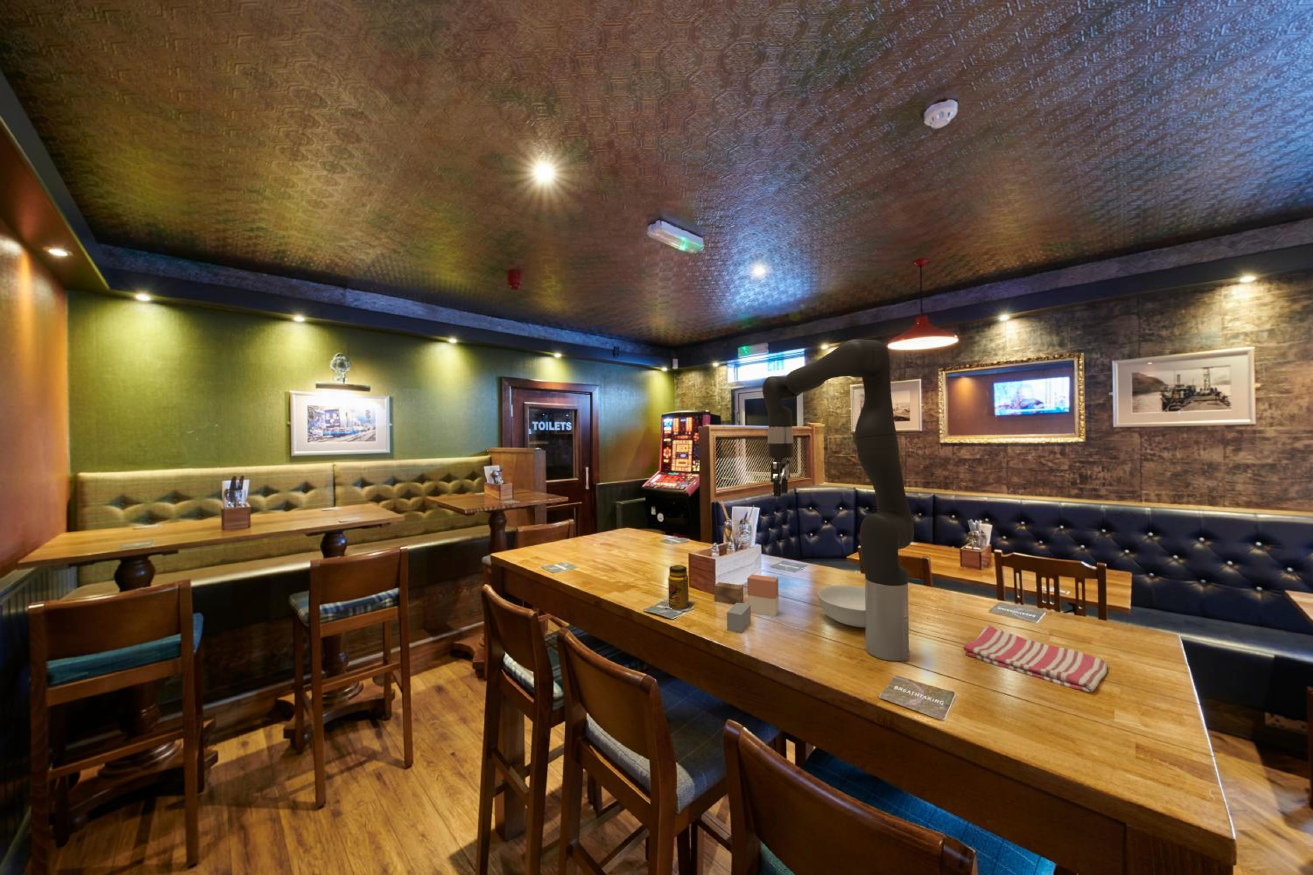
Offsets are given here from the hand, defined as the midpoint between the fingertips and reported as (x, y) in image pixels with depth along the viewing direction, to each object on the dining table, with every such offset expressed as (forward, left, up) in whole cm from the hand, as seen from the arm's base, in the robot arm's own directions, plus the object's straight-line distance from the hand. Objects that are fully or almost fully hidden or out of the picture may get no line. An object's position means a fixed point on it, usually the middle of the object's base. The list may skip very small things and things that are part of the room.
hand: (780, 494), depth 147 cm
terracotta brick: (+3, +10, -28) cm, 30 cm away
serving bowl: (-22, +5, -33) cm, 40 cm away
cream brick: (+3, +10, -33) cm, 35 cm away
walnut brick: (+15, +6, -33) cm, 37 cm away
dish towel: (-60, +12, -34) cm, 70 cm away
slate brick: (+6, +23, -33) cm, 41 cm away
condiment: (+27, +16, -33) cm, 46 cm away
